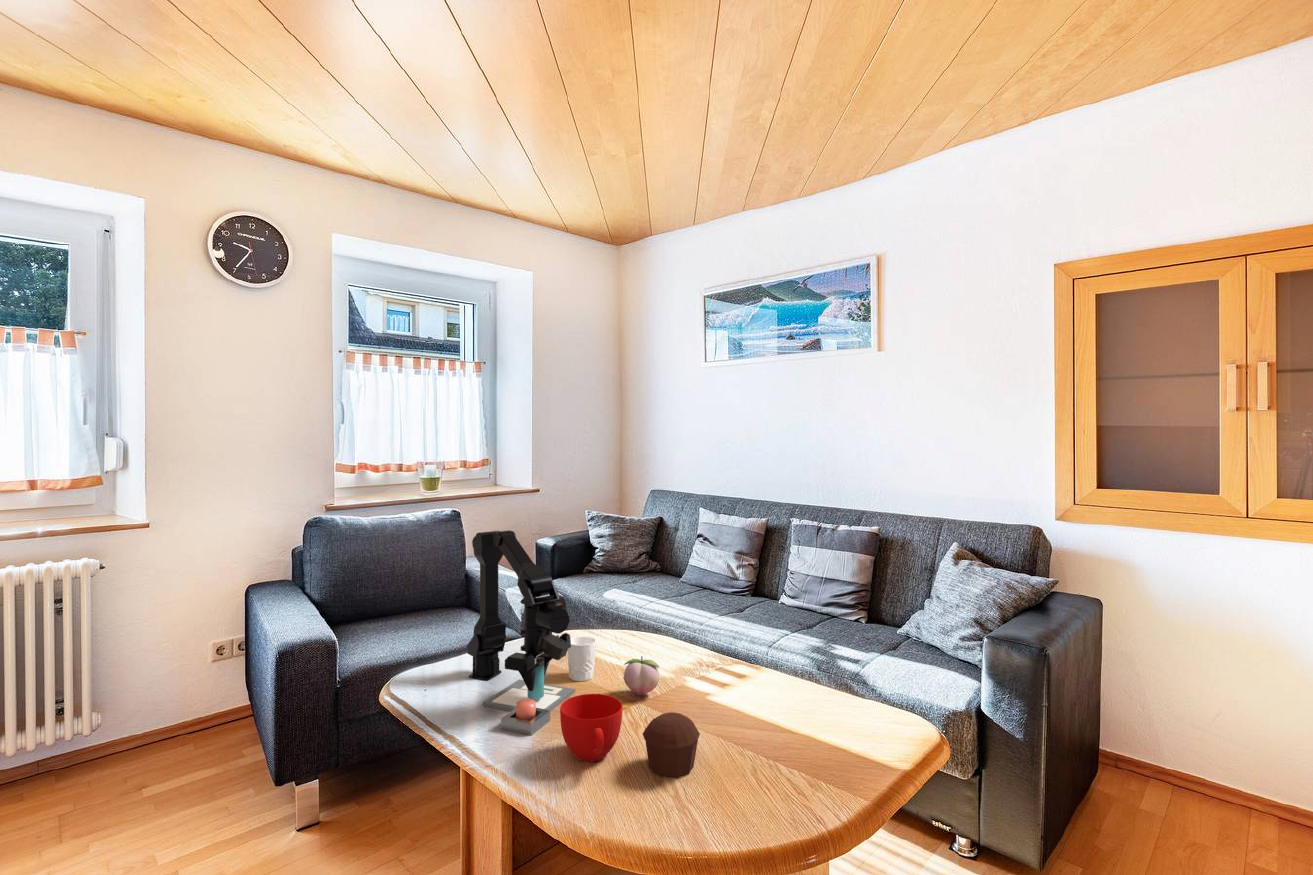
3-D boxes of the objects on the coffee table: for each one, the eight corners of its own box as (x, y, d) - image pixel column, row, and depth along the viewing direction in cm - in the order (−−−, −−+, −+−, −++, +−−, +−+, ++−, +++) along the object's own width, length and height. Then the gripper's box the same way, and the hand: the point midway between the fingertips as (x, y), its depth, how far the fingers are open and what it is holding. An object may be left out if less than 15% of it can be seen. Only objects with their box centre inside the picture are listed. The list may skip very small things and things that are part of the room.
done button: (512, 720, 143) (512, 705, 143) (522, 713, 148) (523, 697, 148) (528, 724, 142) (529, 708, 142) (539, 716, 146) (539, 700, 146)
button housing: (500, 729, 142) (500, 718, 142) (520, 714, 150) (520, 704, 150) (531, 735, 140) (531, 724, 140) (550, 720, 147) (550, 710, 147)
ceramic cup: (566, 784, 120) (566, 731, 120) (556, 743, 136) (556, 696, 136) (632, 775, 123) (633, 724, 123) (615, 736, 140) (615, 690, 140)
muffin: (667, 747, 135) (667, 700, 135) (710, 764, 128) (710, 714, 128) (630, 769, 126) (631, 718, 126) (674, 788, 119) (675, 735, 119)
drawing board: (482, 705, 155) (482, 700, 155) (518, 682, 170) (519, 678, 170) (542, 716, 149) (542, 712, 149) (575, 692, 164) (575, 687, 164)
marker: (523, 697, 155) (524, 660, 155) (532, 691, 159) (533, 655, 159) (538, 700, 154) (538, 663, 154) (547, 694, 158) (547, 657, 158)
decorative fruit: (661, 689, 166) (661, 651, 166) (658, 702, 158) (658, 662, 158) (625, 687, 167) (626, 649, 167) (621, 700, 159) (621, 660, 159)
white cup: (593, 682, 170) (594, 645, 170) (564, 682, 170) (565, 644, 171) (597, 671, 178) (597, 636, 178) (569, 671, 178) (569, 635, 178)
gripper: (544, 638, 145) (544, 707, 145) (582, 618, 162) (582, 679, 162) (503, 633, 149) (502, 699, 149) (544, 613, 166) (544, 673, 166)
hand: (535, 687), depth 156 cm, fingers closed on marker, 4 cm apart
